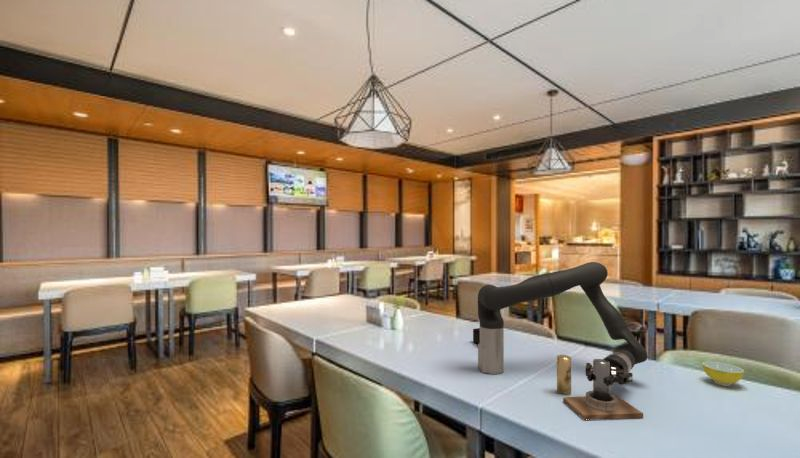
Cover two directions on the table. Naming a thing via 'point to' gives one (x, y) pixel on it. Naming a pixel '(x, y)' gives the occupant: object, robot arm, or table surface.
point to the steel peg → (601, 379)
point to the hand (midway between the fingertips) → (598, 380)
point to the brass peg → (564, 374)
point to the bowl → (723, 373)
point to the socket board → (602, 414)
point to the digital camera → (476, 336)
